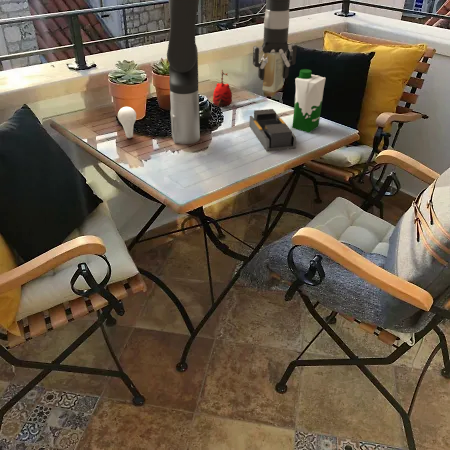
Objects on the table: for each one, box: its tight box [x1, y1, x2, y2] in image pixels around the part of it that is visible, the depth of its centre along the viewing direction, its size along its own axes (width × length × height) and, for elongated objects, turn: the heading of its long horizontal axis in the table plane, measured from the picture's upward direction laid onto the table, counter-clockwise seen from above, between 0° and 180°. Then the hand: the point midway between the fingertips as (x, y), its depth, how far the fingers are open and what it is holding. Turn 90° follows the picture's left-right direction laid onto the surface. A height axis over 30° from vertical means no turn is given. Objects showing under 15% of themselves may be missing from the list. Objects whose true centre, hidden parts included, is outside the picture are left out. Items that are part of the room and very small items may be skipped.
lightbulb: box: [117, 106, 137, 139], centre depth 160 cm, size 6×6×11 cm
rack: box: [248, 108, 297, 152], centre depth 163 cm, size 10×21×6 cm, turn 13°
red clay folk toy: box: [212, 69, 233, 108], centre depth 185 cm, size 8×7×15 cm
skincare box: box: [262, 52, 284, 93], centre depth 153 cm, size 6×4×12 cm
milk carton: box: [291, 68, 326, 133], centre depth 165 cm, size 9×9×20 cm
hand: (273, 78), depth 154 cm, fingers closed on skincare box, 7 cm apart
